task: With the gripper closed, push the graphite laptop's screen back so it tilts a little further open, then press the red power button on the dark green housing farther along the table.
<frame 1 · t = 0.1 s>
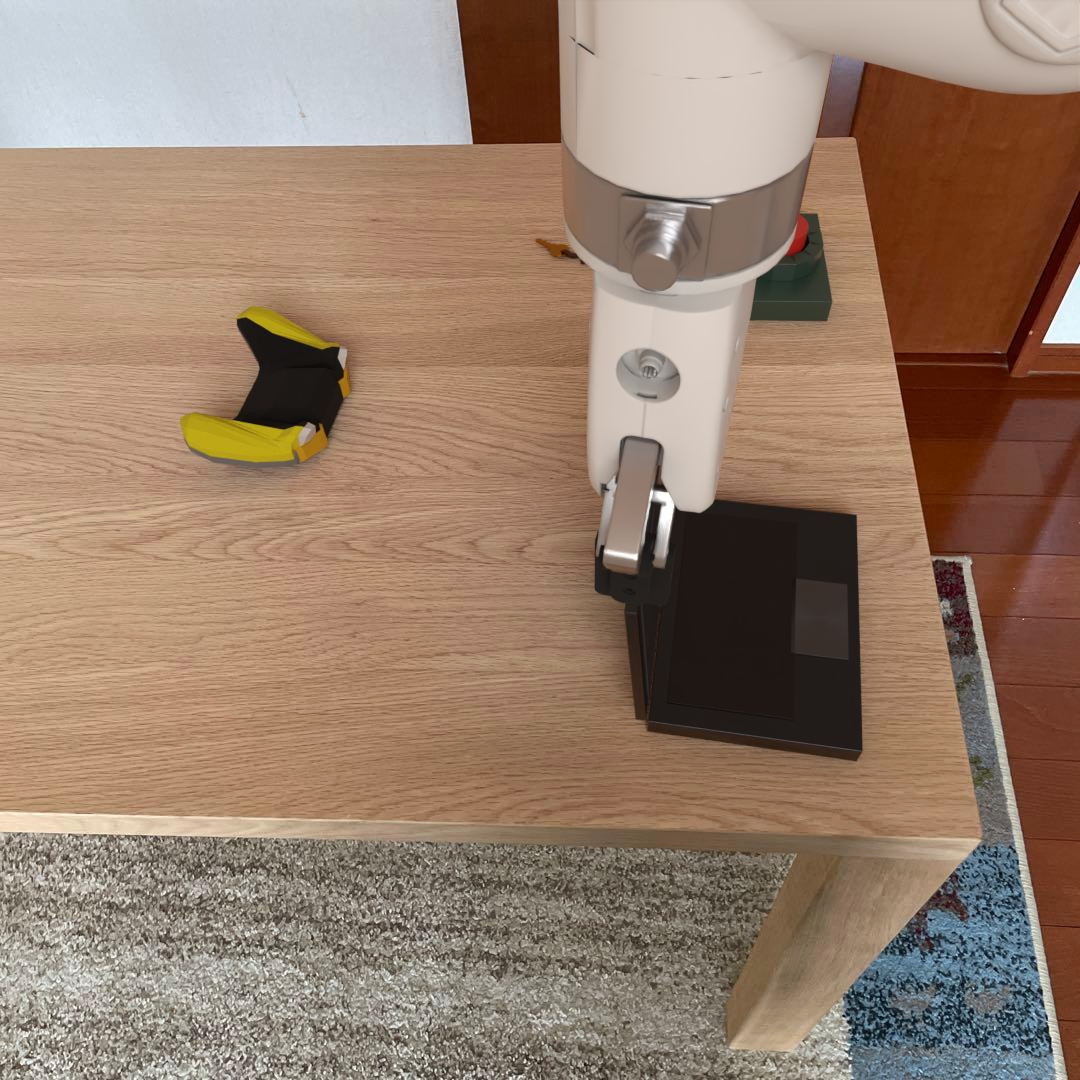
hand: (651, 507, 43), 21 cm above the table, tool pointing down, fingers open, 9 cm apart
screen: (653, 543, 58), point 8 cm above the table, hinge at 95.0°
power box: (774, 275, 84), on the table
laptop: (755, 622, 63), on the table
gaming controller: (284, 417, 76), on the table
key tag: (579, 250, 87), on the table
power button: (783, 233, 80), point 4 cm above the table, slide at 0.1 cm
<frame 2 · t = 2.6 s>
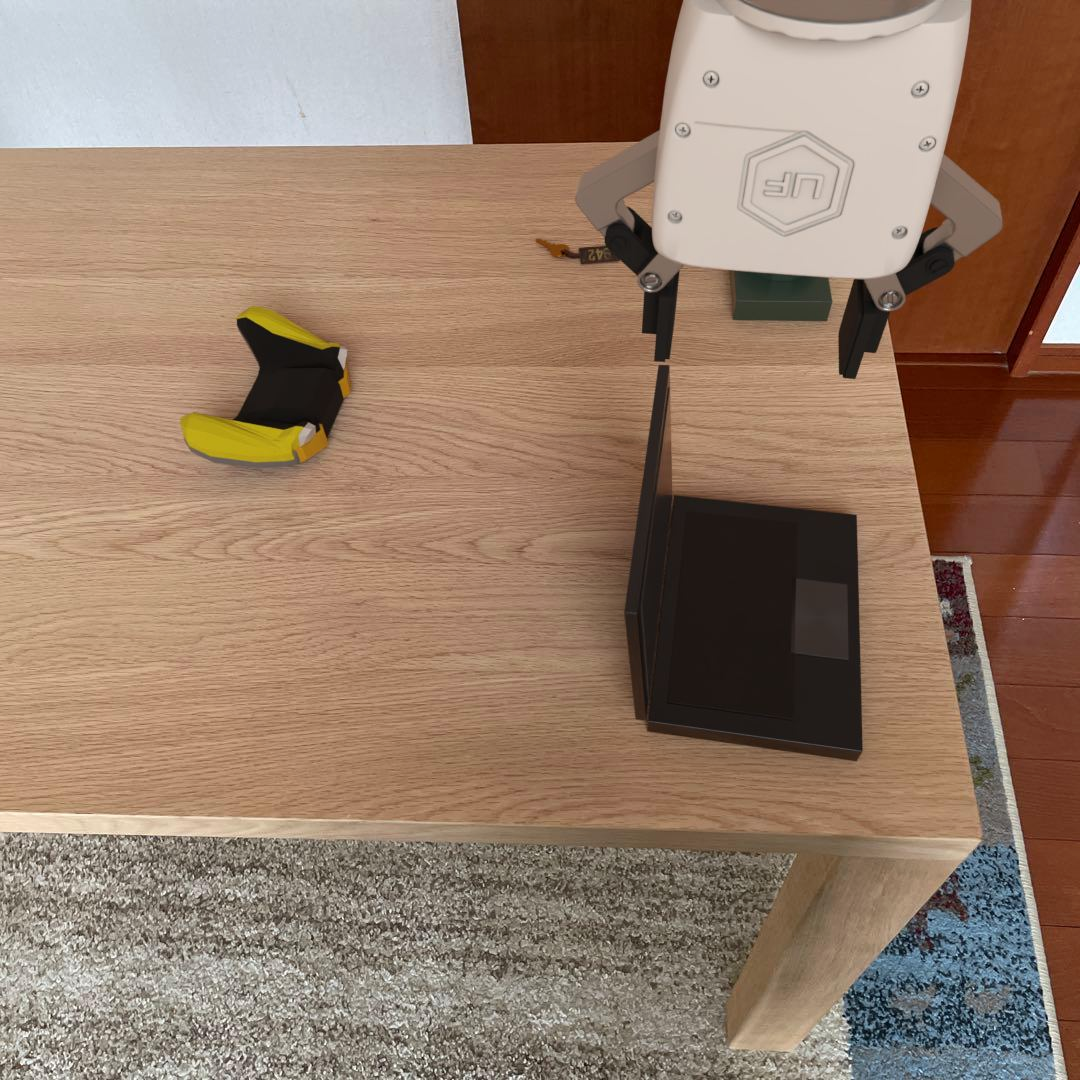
hand: (754, 347, 43), 25 cm above the table, tool pointing down, fingers open, 7 cm apart
nothing on the table moved.
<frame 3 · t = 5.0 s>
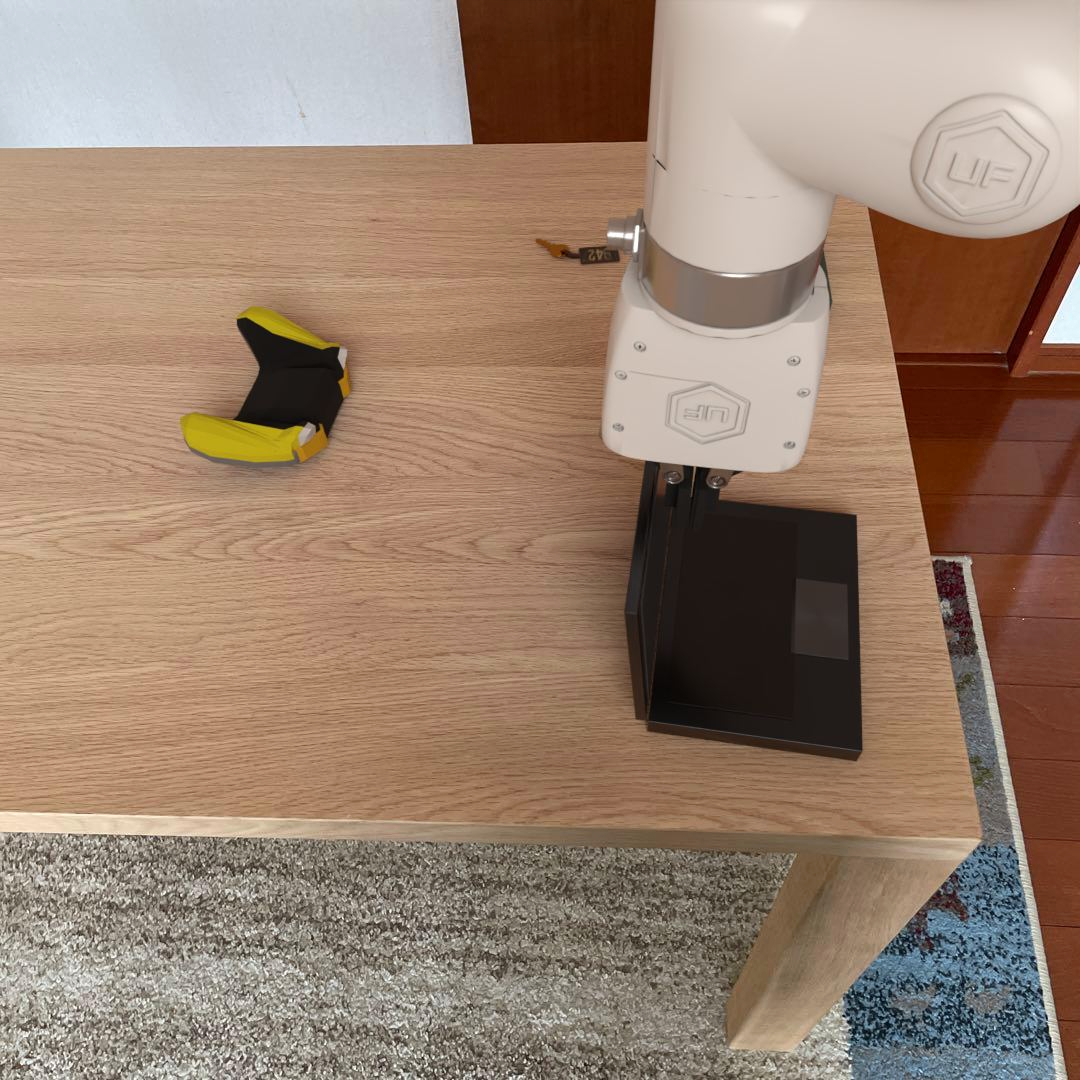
hand: (688, 510, 54), 12 cm above the table, tool pointing down, fingers closed
screen: (653, 543, 58), point 8 cm above the table, hinge at 95.0°, touching gripper
everything else where it was.
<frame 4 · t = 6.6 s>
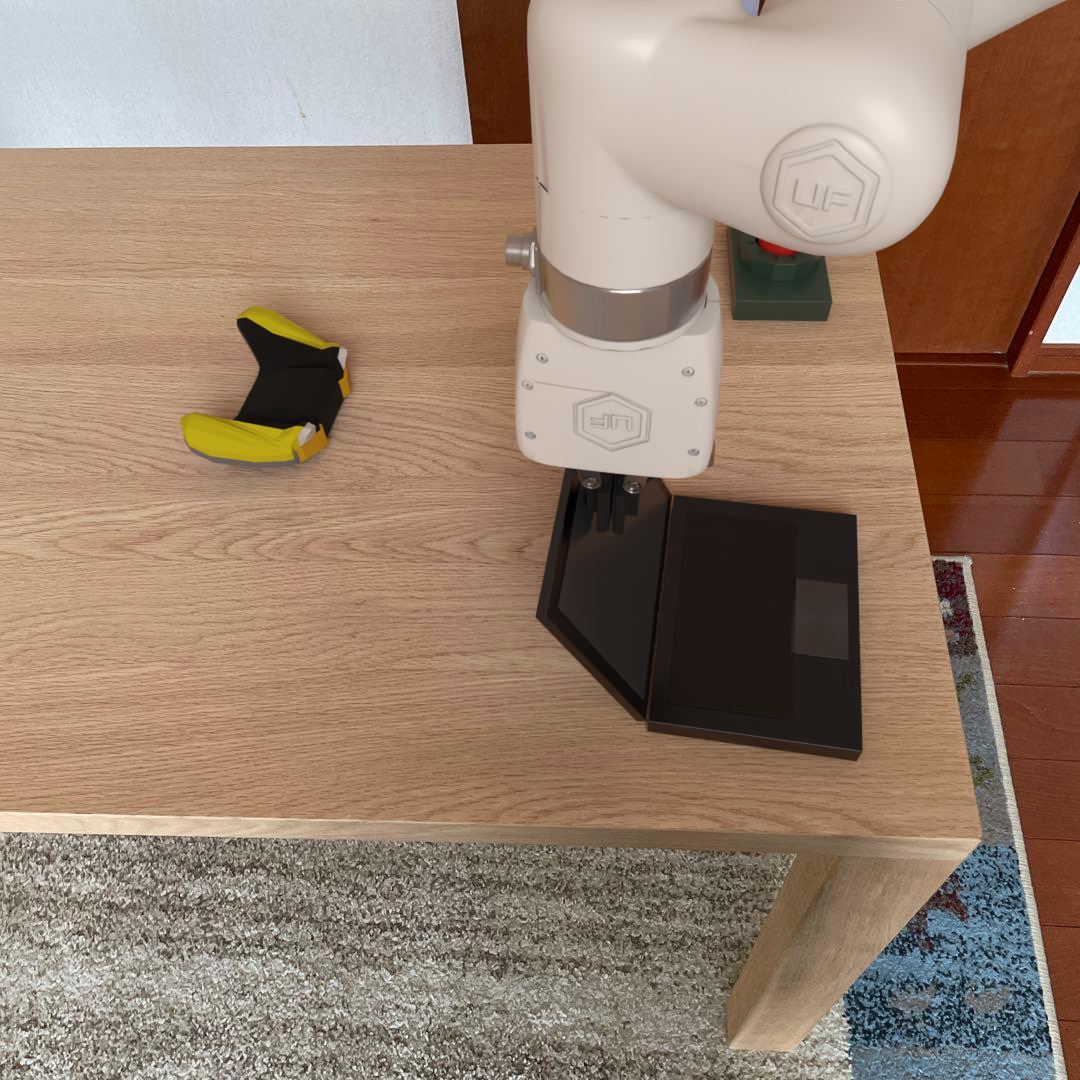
hand: (613, 514, 56), 11 cm above the table, tool pointing down, fingers closed
screen: (615, 546, 59), point 7 cm above the table, hinge at 117.2°, touching gripper
everything else where it was.
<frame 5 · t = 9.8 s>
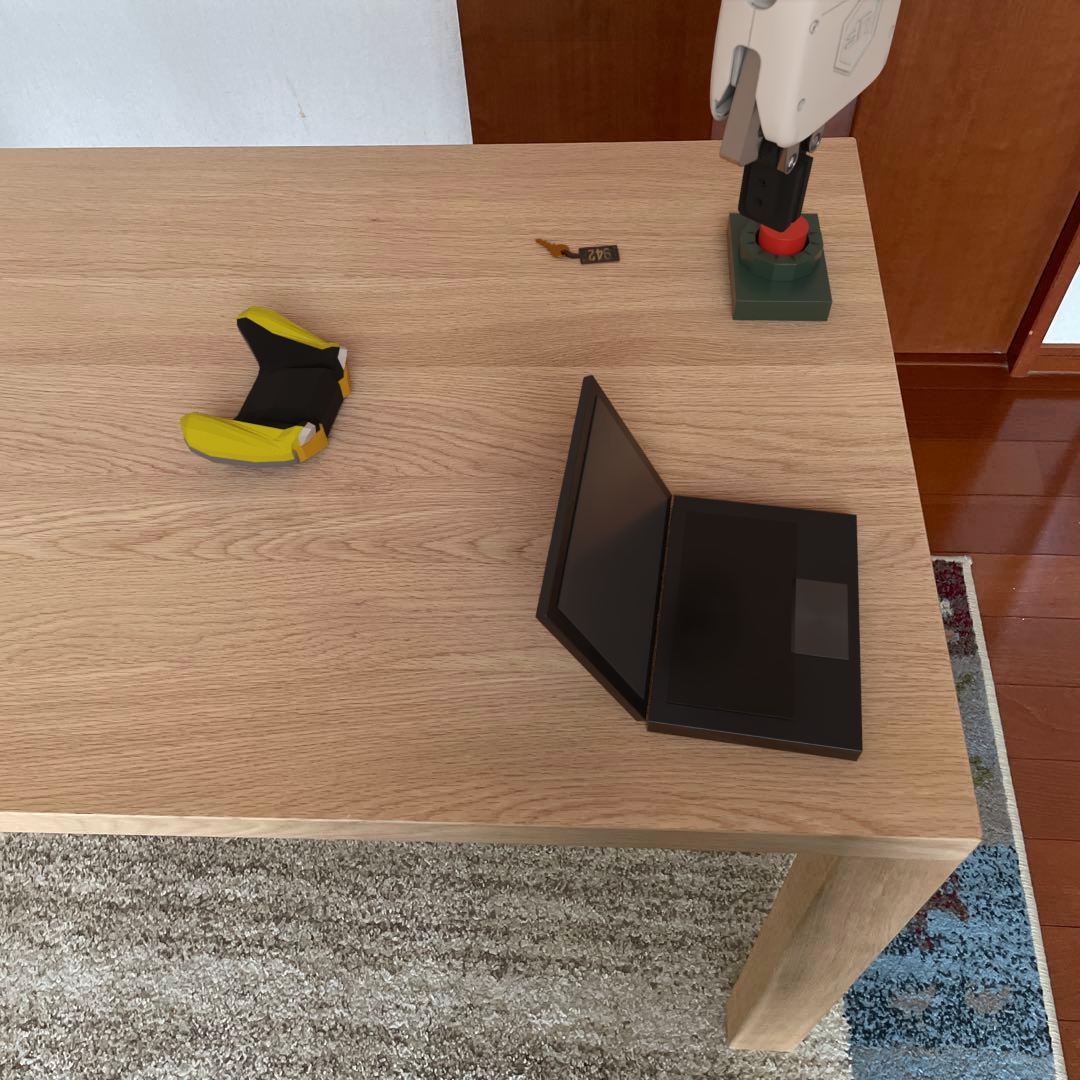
hand: (768, 216, 53), 22 cm above the table, tool pointing down, fingers closed
screen: (615, 546, 59), point 7 cm above the table, hinge at 117.2°
everything else where it was.
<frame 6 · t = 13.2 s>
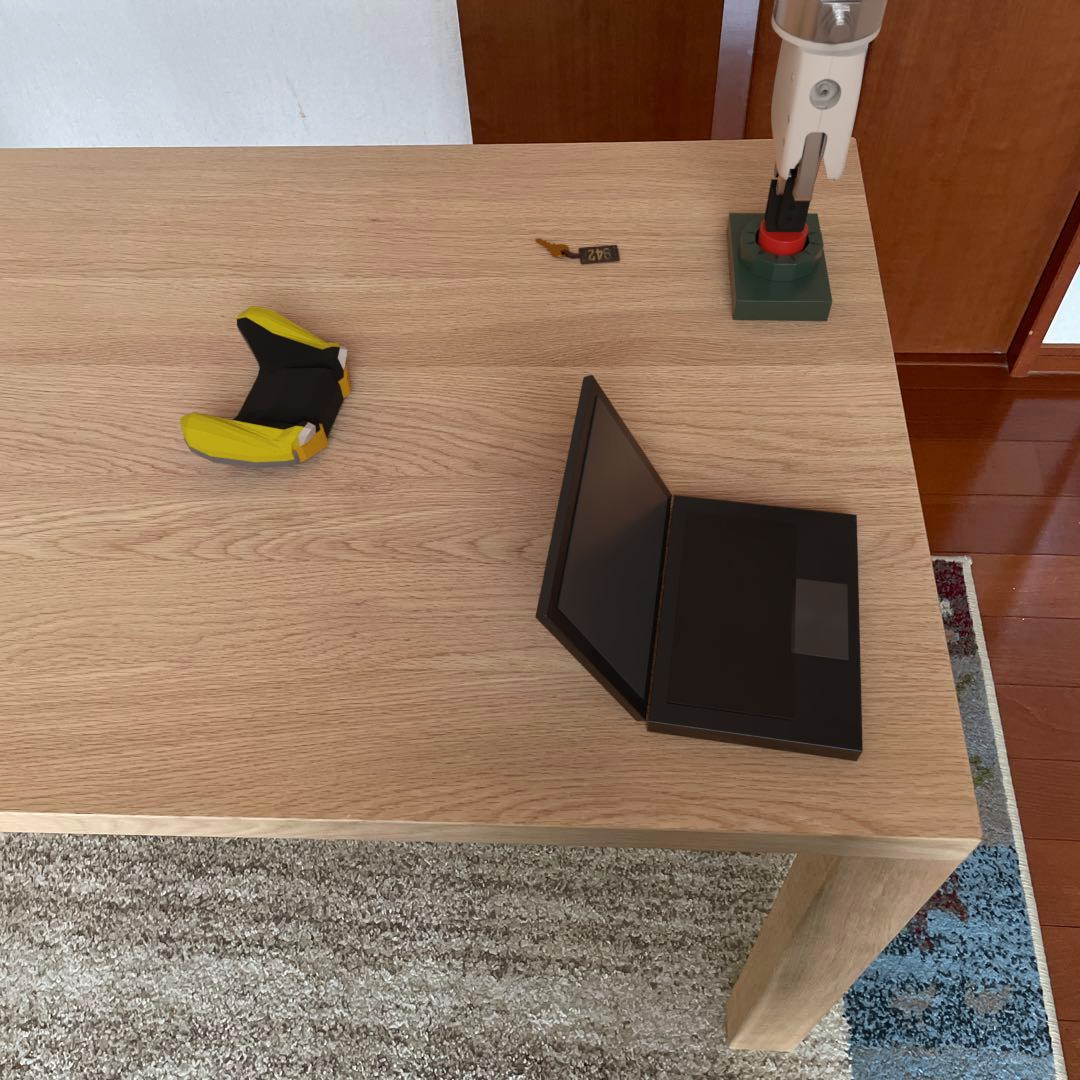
hand: (783, 226, 79), 5 cm above the table, tool pointing down, fingers closed
power button: (782, 235, 80), point 4 cm above the table, slide at -0.1 cm, touching gripper
everything else where it was.
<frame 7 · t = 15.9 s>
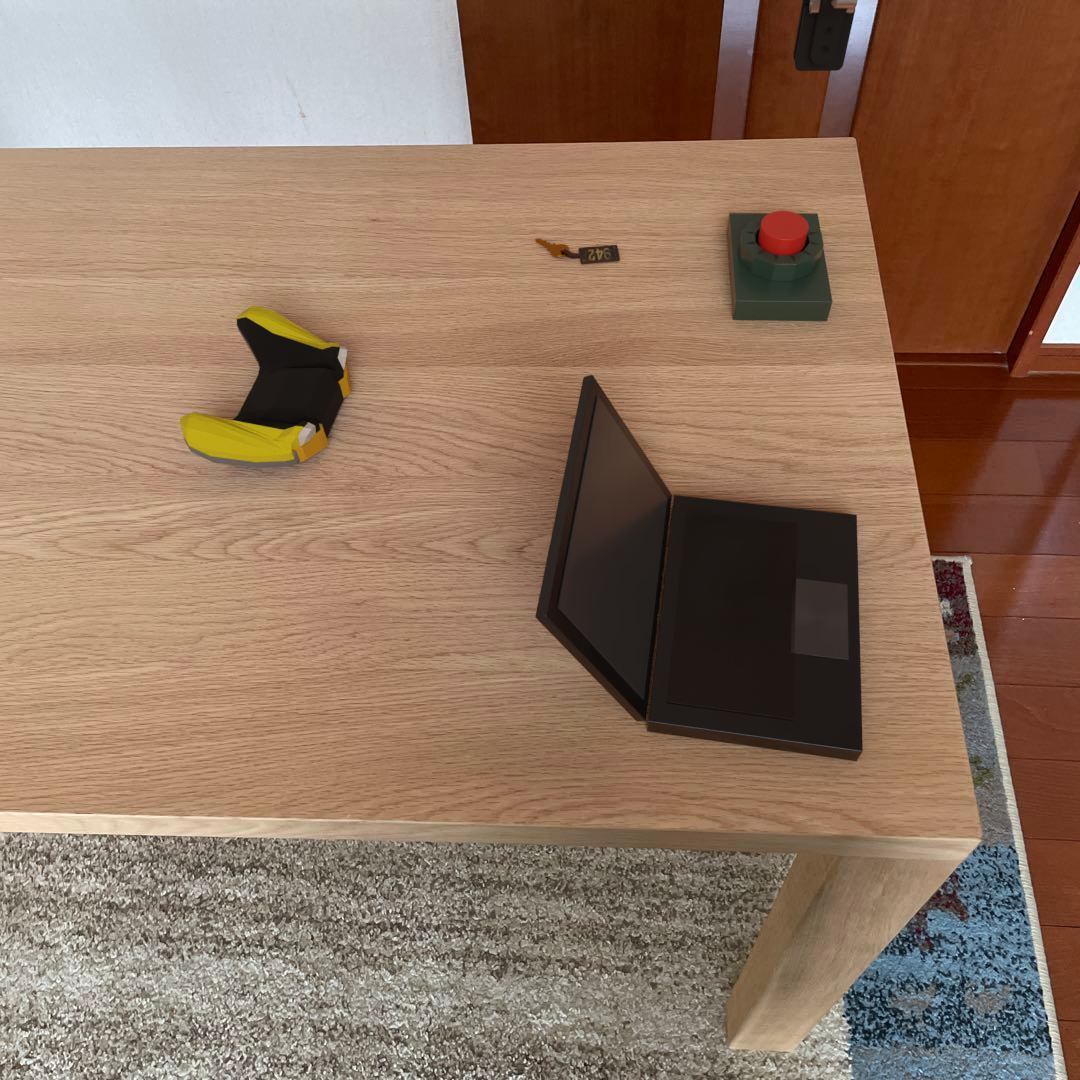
hand: (817, 64, 64), 21 cm above the table, tool pointing down, fingers closed
power button: (783, 233, 80), point 4 cm above the table, slide at 0.1 cm
everything else where it was.
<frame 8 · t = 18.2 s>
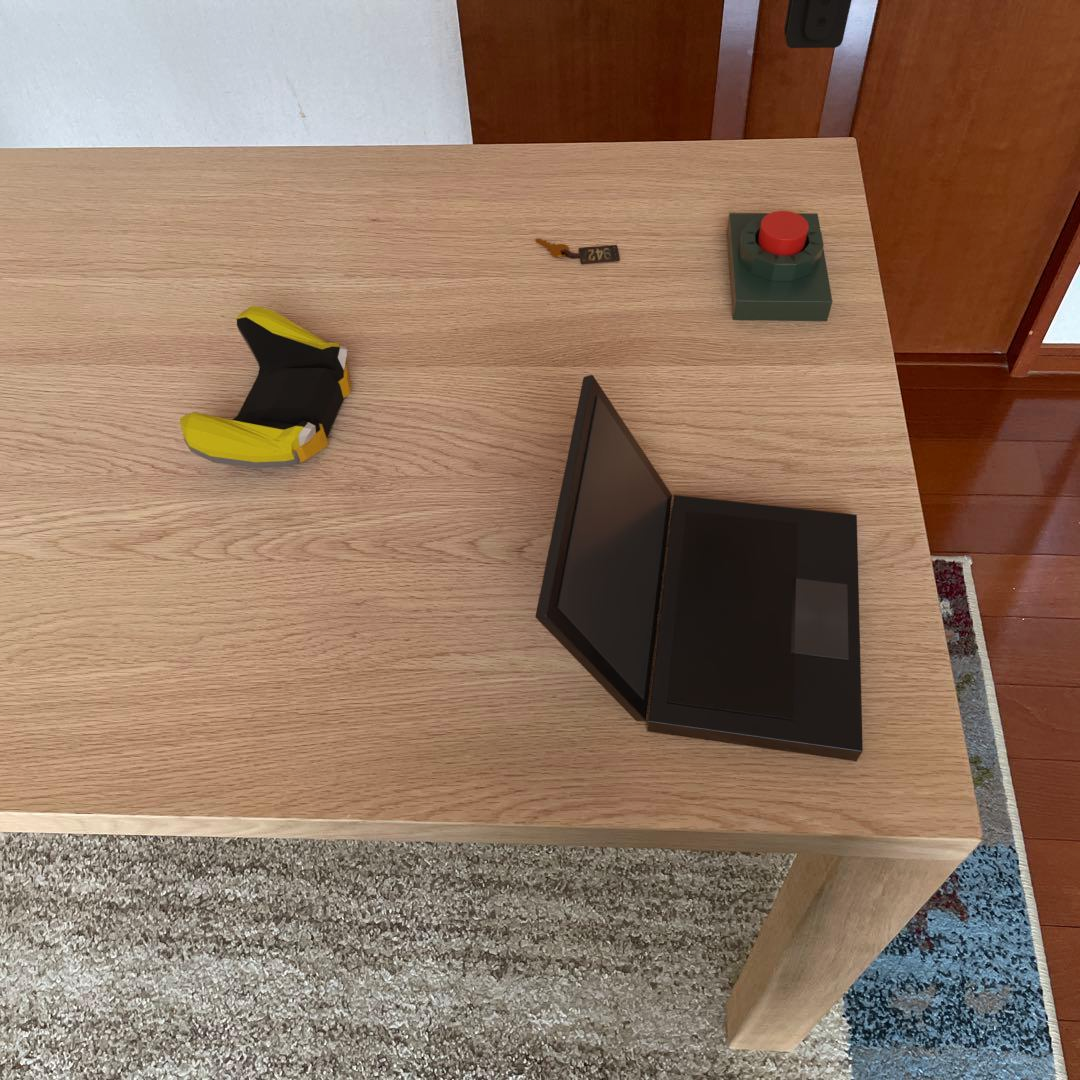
hand: (811, 40, 55), 27 cm above the table, tool pointing down, fingers closed
nothing on the table moved.
at the end: screen at +117° (first picture: +95°); power button pushed in 1.1 cm at the most during the clip, back to where it started at the end; power button slide at 0.1 cm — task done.
